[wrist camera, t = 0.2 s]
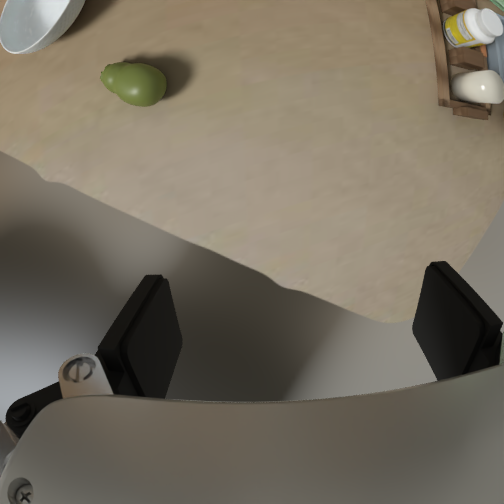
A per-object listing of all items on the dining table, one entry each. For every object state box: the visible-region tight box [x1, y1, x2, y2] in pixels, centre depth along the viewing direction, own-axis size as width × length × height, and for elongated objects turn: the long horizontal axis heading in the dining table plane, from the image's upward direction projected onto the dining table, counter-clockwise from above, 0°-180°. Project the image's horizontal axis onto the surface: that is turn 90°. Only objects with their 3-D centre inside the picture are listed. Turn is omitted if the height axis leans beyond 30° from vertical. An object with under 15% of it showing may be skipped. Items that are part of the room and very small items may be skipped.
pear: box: [100, 62, 167, 107], centre depth 32 cm, size 6×5×10 cm
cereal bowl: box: [0, 0, 86, 54], centre depth 25 cm, size 17×17×7 cm
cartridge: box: [451, 70, 504, 104], centre depth 28 cm, size 4×4×8 cm
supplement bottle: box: [443, 8, 503, 48], centre depth 23 cm, size 5×5×10 cm
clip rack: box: [426, 0, 491, 120], centre depth 26 cm, size 27×9×4 cm, turn 4°
